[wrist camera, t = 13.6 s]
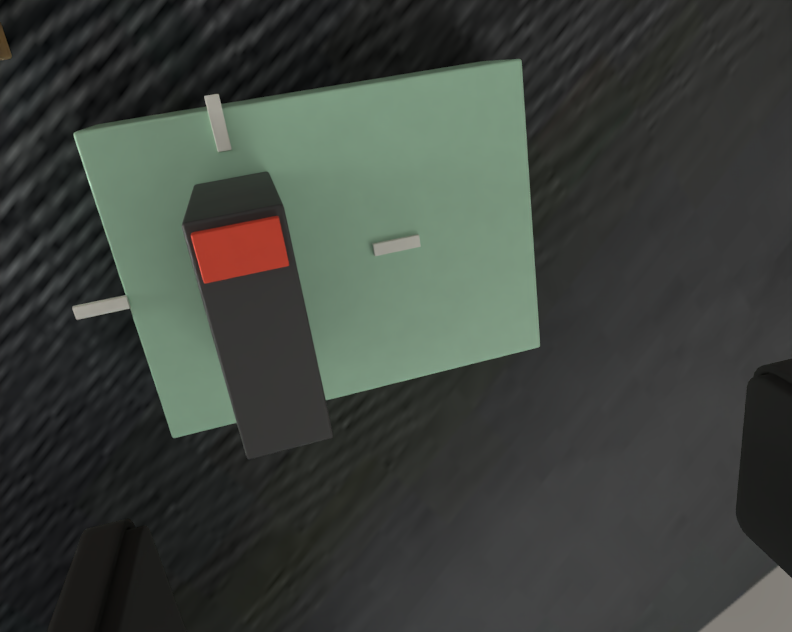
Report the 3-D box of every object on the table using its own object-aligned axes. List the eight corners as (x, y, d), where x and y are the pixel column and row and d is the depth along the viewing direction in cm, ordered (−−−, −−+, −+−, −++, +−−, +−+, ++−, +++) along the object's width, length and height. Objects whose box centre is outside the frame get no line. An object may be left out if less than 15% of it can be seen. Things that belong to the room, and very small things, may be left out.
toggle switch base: (482, 49, 20) (523, 44, 18) (506, 325, 24) (544, 358, 21) (41, 119, 18) (6, 127, 15) (141, 413, 22) (128, 464, 19)
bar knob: (308, 353, 19) (335, 444, 14) (242, 369, 19) (247, 467, 14) (268, 170, 17) (284, 205, 12) (193, 184, 17) (179, 226, 12)
